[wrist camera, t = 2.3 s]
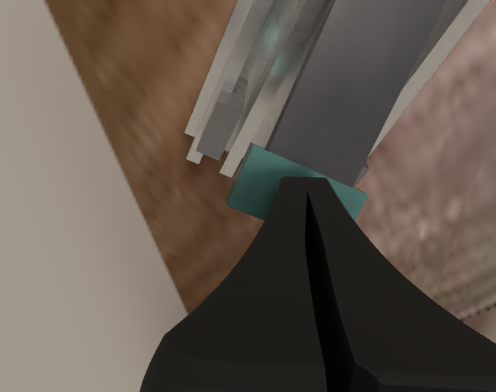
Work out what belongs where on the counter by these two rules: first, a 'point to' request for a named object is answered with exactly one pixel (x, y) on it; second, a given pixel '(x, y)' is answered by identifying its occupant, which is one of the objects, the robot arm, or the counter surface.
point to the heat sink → (288, 73)
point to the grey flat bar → (338, 101)
